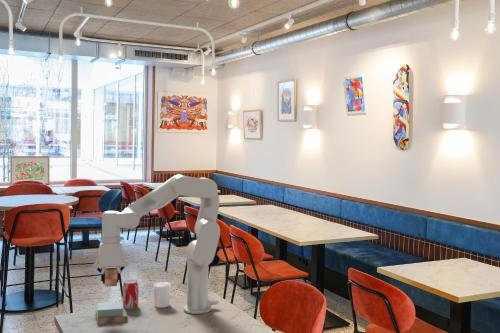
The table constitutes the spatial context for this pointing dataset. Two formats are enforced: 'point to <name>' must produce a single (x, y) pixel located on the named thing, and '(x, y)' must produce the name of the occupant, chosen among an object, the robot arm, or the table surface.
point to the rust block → (110, 276)
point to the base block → (112, 318)
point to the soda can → (130, 294)
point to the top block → (110, 309)
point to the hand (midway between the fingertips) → (110, 281)
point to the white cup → (161, 294)
